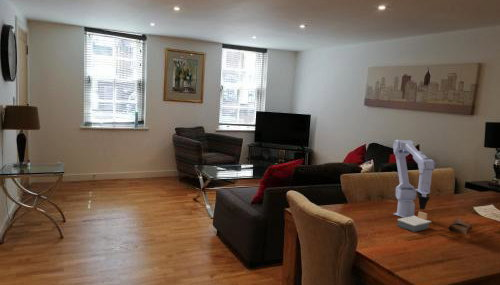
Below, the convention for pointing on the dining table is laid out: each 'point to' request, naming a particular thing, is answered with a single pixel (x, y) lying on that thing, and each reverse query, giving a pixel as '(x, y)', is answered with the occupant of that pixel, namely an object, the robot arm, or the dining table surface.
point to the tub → (413, 228)
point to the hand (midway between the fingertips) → (421, 207)
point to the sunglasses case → (459, 226)
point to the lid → (416, 219)
